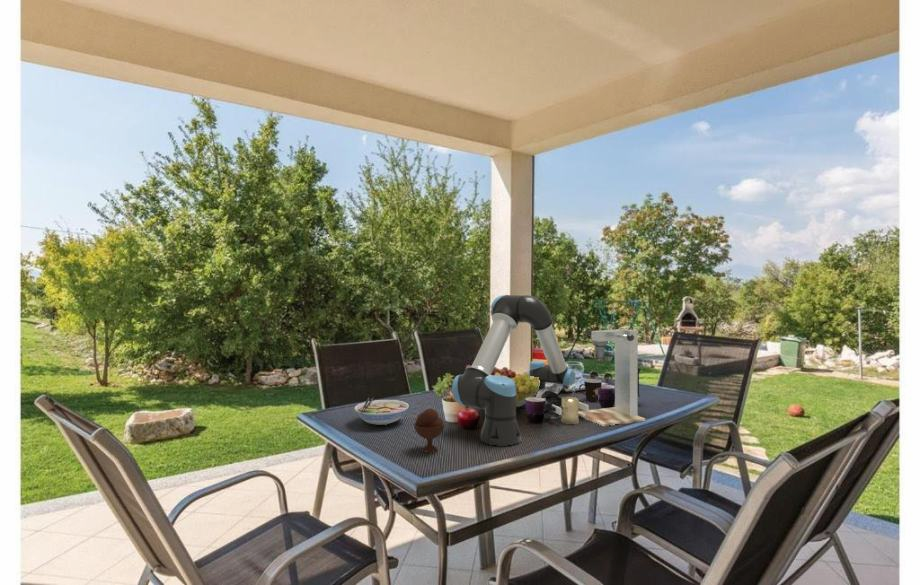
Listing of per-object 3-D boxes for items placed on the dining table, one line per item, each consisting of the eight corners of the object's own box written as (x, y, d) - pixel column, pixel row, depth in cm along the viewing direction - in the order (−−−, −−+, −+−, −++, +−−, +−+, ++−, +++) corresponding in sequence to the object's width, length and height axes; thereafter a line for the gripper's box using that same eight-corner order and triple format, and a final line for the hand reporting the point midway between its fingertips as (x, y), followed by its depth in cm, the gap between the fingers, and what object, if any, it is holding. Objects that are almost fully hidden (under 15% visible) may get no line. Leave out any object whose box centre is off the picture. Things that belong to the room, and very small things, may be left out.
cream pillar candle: (567, 425, 192) (567, 401, 192) (558, 420, 199) (558, 397, 199) (581, 423, 195) (581, 399, 195) (572, 419, 201) (572, 396, 201)
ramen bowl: (405, 432, 184) (405, 412, 184) (348, 433, 184) (347, 412, 184) (411, 415, 209) (411, 396, 209) (361, 415, 209) (360, 397, 209)
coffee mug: (600, 398, 237) (600, 379, 237) (603, 403, 229) (603, 382, 228) (576, 398, 238) (576, 378, 238) (579, 402, 230) (579, 382, 230)
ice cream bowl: (451, 449, 165) (451, 407, 165) (429, 458, 157) (428, 413, 157) (430, 442, 172) (430, 402, 172) (407, 450, 164) (407, 408, 164)
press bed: (602, 426, 191) (602, 423, 191) (574, 414, 209) (574, 411, 209) (645, 420, 198) (645, 418, 198) (615, 409, 217) (615, 406, 217)
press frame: (611, 424, 190) (611, 334, 190) (587, 413, 206) (587, 330, 205) (648, 419, 197) (648, 332, 196) (622, 409, 212) (622, 328, 212)
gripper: (570, 404, 218) (599, 416, 198) (524, 409, 210) (548, 422, 190) (570, 388, 218) (599, 398, 198) (523, 392, 210) (548, 403, 189)
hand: (574, 410), depth 194 cm, fingers open, 12 cm apart
